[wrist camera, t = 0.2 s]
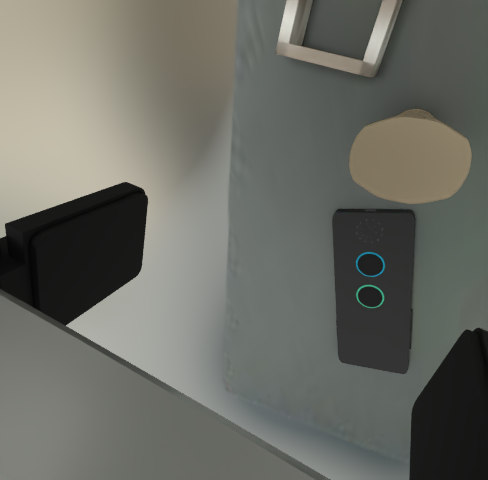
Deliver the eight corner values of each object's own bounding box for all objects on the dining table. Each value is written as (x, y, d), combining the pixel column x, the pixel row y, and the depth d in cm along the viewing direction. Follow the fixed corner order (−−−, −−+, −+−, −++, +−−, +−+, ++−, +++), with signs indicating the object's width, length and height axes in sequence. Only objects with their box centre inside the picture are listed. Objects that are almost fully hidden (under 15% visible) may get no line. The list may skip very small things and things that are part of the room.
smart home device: (416, 213, 35) (409, 376, 42) (417, 207, 36) (409, 366, 44) (330, 212, 39) (337, 362, 46) (333, 207, 40) (339, 353, 47)
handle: (443, 159, 33) (454, 212, 21) (371, 148, 36) (342, 191, 23) (461, 103, 31) (484, 126, 19) (383, 95, 33) (358, 111, 21)
